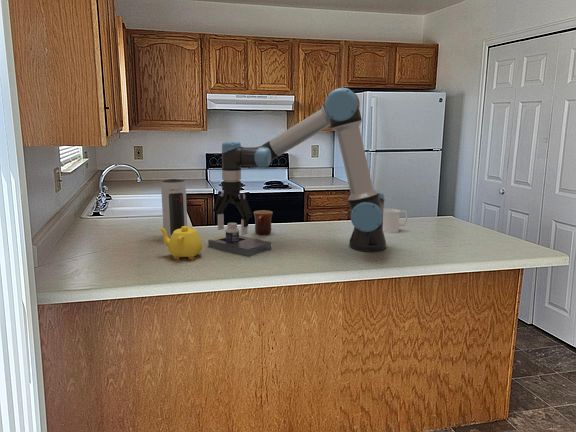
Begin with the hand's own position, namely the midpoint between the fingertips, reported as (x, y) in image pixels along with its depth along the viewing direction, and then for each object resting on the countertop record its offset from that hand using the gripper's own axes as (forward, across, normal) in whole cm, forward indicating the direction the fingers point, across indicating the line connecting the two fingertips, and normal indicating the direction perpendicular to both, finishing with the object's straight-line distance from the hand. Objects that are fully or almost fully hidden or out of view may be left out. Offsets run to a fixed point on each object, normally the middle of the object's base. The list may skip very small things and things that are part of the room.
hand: (232, 231), depth 200 cm
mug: (+6, +4, -23) cm, 24 cm away
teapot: (+7, +5, +23) cm, 24 cm away
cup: (+7, -38, -70) cm, 80 cm away
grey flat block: (+6, -4, 0) cm, 7 cm away
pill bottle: (+6, 0, 0) cm, 6 cm away
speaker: (+6, +28, +7) cm, 30 cm away
